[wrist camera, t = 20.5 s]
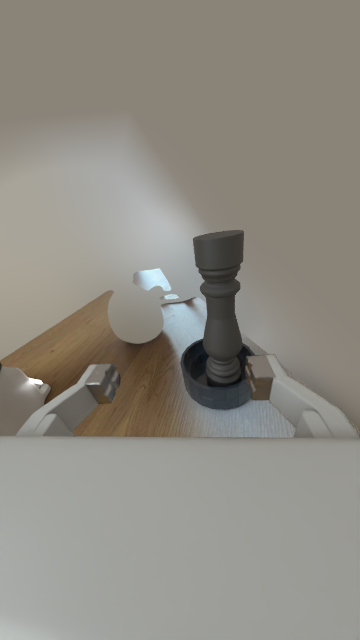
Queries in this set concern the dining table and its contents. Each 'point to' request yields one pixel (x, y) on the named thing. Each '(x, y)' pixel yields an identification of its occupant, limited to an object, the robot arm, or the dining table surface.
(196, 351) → the bowl
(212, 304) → the candle holder
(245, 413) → the dining table surface
